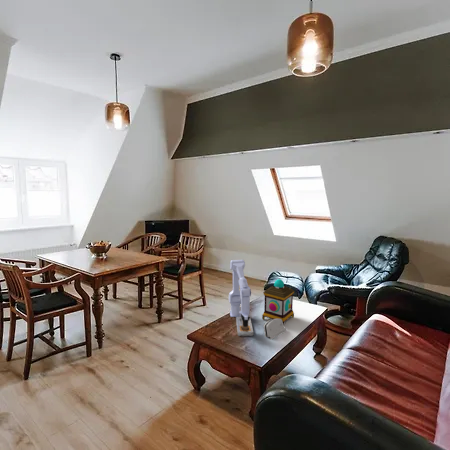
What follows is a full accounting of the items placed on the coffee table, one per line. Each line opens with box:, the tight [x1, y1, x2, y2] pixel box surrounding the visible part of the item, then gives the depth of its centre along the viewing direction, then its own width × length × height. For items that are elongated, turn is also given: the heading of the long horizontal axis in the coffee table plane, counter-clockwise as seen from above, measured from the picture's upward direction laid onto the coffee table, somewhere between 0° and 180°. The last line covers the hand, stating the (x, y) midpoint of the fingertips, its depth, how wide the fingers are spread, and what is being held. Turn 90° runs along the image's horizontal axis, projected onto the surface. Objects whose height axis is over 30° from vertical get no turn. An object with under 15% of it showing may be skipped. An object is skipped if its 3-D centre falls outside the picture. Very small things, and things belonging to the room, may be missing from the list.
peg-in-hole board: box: [235, 317, 254, 337], centre depth 205 cm, size 22×10×3 cm, turn 1°
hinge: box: [263, 319, 287, 340], centre depth 197 cm, size 17×5×10 cm, turn 131°
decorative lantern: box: [261, 278, 295, 326], centre depth 216 cm, size 20×20×30 cm
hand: (245, 324), depth 198 cm, fingers closed on walnut peg, 3 cm apart
